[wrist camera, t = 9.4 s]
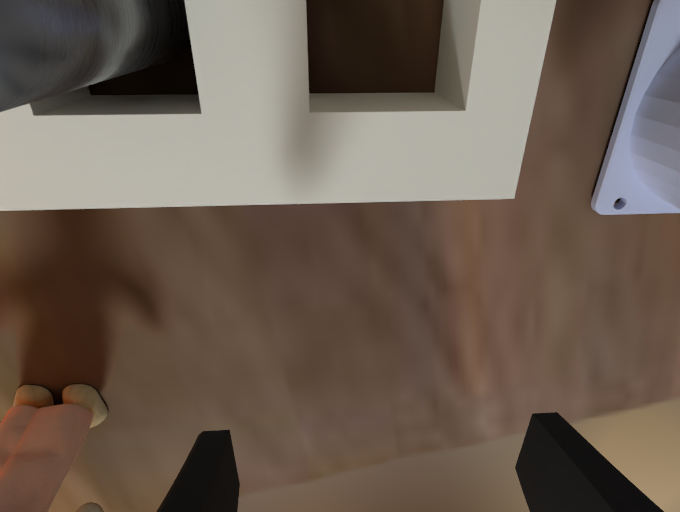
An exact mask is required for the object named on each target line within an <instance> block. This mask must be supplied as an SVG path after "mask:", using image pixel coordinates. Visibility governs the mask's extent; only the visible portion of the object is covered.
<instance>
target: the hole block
mask: <svg viewBox="0 0 680 512" xmlns="http://www.w3.org/2000/svg"><path fill="white" fill-rule="evenodd" d="M184 1H185V8H186V14H187V21H188V28H189V34H190V41H191V47H192V54H193V61H194V67H195V74H196V80H197V87H198V94H195V95H90V91H89V87H88V86H85V87H82V88H79V89H75V90H72V91H69V92H65V93H62V94H59V95H55V96H52V97H49V98H45V99H42V100H39V101H36V102H32V103H29V104H26V105H22V106H19V107H16V108H12V109H9V110H6V111H3V112H0V211H12V210H54V209H97V208H140V207H182V206H225V205H268V204H310V203H353V202H396V201H438V200H481V199H514V197H515V192H516V187H517V182H518V178H519V173H520V168H521V164H522V159H523V154H524V150H525V145H526V140H527V136H528V131H529V126H530V122H531V117H532V112H533V108H534V103H535V98H536V94H537V89H538V84H539V80H540V75H541V70H542V66H543V61H544V56H545V51H546V47H547V42H548V37H549V33H550V28H551V23H552V19H553V14H554V9H555V5H556V0H444V4H443V13H442V23H441V33H440V42H439V52H438V62H437V71H436V81H435V91H434V92H430V93H312V94H309V72H308V41H307V9H306V0H184Z"/></svg>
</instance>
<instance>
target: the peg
mask: <svg viewBox="0 0 680 512" xmlns="http://www.w3.org/2000/svg"><path fill="white" fill-rule="evenodd" d="M188 36H189V28H188V21H187V14H186V8H185V1H184V0H0V112H3V111H6V110H9V109H12V108H16V107H19V106H22V105H26V104H29V103H32V102H36V101H39V100H42V99H45V98H49V97H52V96H55V95H59V94H62V93H65V92H69V91H72V90H75V89H79V88H82V87H85V86H88V85H92V84H95V83H98V82H102V81H105V80H108V79H112V78H115V77H118V76H121V75H125V74H128V73H131V72H135V71H138V70H141V69H145V68H148V67H151V66H155V65H158V64H161V63H164V62H167V61H169V60H171V59H173V58H174V57H175V56H177V55H178V54H179V53H180V51H181V50H182V49H183V47H184V46H185V44H186V42H187V39H188Z"/></svg>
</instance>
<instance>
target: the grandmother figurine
mask: <svg viewBox="0 0 680 512" xmlns="http://www.w3.org/2000/svg"><path fill="white" fill-rule="evenodd" d="M62 398H63V404H60V405H55V406H54V402H53V397H52V394H51V393H50V391H49V390H47V389H45V388H44V387H41V386H35V385H23V386H21V387H20V388H19V389H18V390H17V392H16V395H15V399H14V403H13V407H12V408H11V409H9V410H8V412H7V414H6V415H5V417H4V418H3V420H2V421H1V423H0V512H48V510H49V508H50V506H51V504H52V502H53V500H54V498H55V496H56V494H57V492H58V489H59V487H60V485H61V484H62V482H63V480H64V478H65V476H66V474H67V473H68V471H69V469H70V467H71V465H72V464H73V462H74V460H75V459H76V457H77V455H78V453H79V452H80V450H81V448H82V446H83V444H84V442H85V437H86V435H87V433H88V431H89V428H92V427H94V426H96V425H98V424H100V423H101V422H102V421H103V420H104V419H105V418H106V417H107V414H108V410H107V408H106V406H105V404H104V402H103V401H102V399H101V398H100V396H99V394H98V393H97V391H96V390H95V389H94V388H92V387H91V386H88V385H84V384H73V385H69V386H67V387H65V389H64V390H63V394H62ZM76 512H104V511H103V509H102V507H101V506H100V505H98V504H97V503H86V504H84V505H82V506H81V507H80V508H79V509H78V510H77V511H76Z"/></svg>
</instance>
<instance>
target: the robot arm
mask: <svg viewBox="0 0 680 512" xmlns="http://www.w3.org/2000/svg"><path fill="white" fill-rule="evenodd" d="M619 198H620V201H619V203H617V204H616V205H614V203H615V201H616V200H617V199H619ZM591 207H592V209H593V210H595V211H596V212H597V213H599V214H602V215H613V214H651V213H680V0H654V2H653V4H652V7H651V10H650V13H649V16H648V20H647V23H646V26H645V29H644V33H643V36H642V39H641V42H640V45H639V49H638V52H637V55H636V58H635V62H634V65H633V68H632V71H631V75H630V78H629V81H628V84H627V88H626V91H625V94H624V97H623V101H622V104H621V107H620V110H619V113H618V117H617V120H616V123H615V126H614V130H613V133H612V136H611V139H610V143H609V146H608V149H607V152H606V156H605V159H604V162H603V165H602V168H601V172H600V175H599V178H598V181H597V185H596V188H595V191H594V194H593V198H592V201H591ZM515 468H516V472H517V475H518V478H519V481H520V484H521V487H522V490H523V493H524V496H525V499H526V502H527V504H528V507H529V510H530V512H664V511H663V510H661V509H660V508H659V507H658V506H657V505H656V504H655V503H654V502H652V501H651V500H650V499H649V498H648V497H647V496H646V495H645V494H644V493H642V492H641V491H640V490H639V489H638V488H637V487H636V486H635V485H634V484H633V483H631V482H630V481H629V480H628V479H627V478H626V477H625V476H624V475H623V474H622V473H621V472H620V471H618V470H617V469H616V468H615V467H614V466H613V465H612V464H611V463H610V462H609V461H608V460H607V459H606V458H605V457H604V456H602V455H601V454H600V453H599V452H598V451H597V450H596V449H595V448H594V447H593V446H592V445H591V444H590V443H589V442H588V441H587V440H586V439H585V438H583V437H582V436H581V435H580V434H579V433H578V432H577V431H576V430H575V429H574V428H573V427H572V426H571V425H570V424H569V423H568V422H567V421H566V420H565V419H564V418H562V417H561V416H560V415H559V414H558V413H557V412H555V413H537V414H532V417H531V420H530V423H529V426H528V429H527V432H526V435H525V438H524V442H523V445H522V448H521V451H520V454H519V457H518V460H517V464H516V467H515ZM239 486H240V484H239V478H238V473H237V468H236V462H235V457H234V451H233V446H232V441H231V435H230V430H220V431H203V432H202V433H200V434H199V435H198V437H197V439H196V441H195V444H194V446H193V448H192V450H191V451H190V453H189V455H188V457H187V459H186V461H185V463H184V465H183V467H182V469H181V470H180V472H179V474H178V476H177V478H176V479H175V481H174V483H173V485H172V486H171V488H170V490H169V492H168V494H167V495H166V497H165V499H164V500H163V502H162V504H161V505H160V507H159V509H158V510H157V512H237V508H238V497H239Z"/></svg>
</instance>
